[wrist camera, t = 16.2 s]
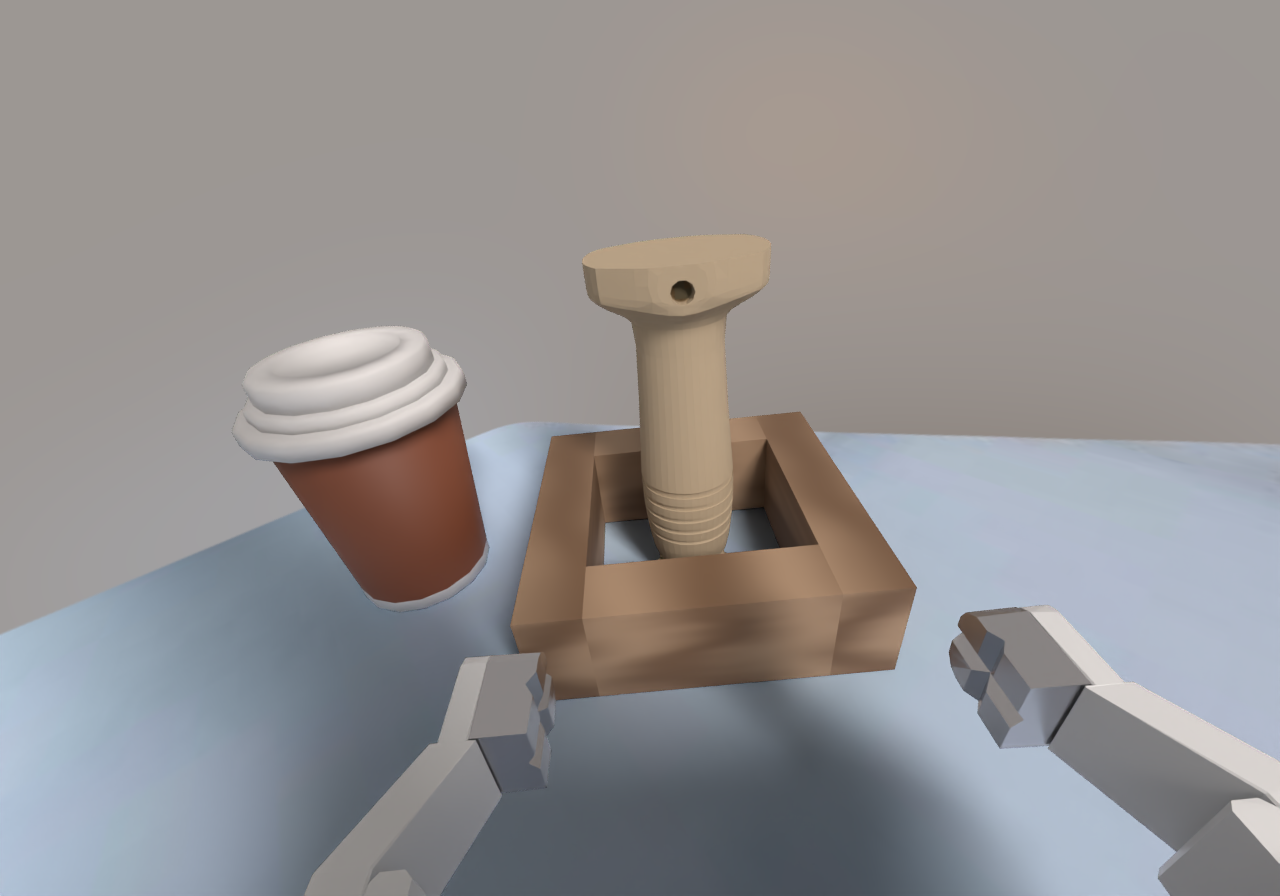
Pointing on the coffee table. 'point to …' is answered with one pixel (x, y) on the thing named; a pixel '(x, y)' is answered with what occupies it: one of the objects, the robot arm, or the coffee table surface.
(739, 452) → the socket block
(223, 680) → the coffee table surface
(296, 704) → the coffee table surface
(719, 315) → the handle
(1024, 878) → the coffee table surface
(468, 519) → the coffee cup
